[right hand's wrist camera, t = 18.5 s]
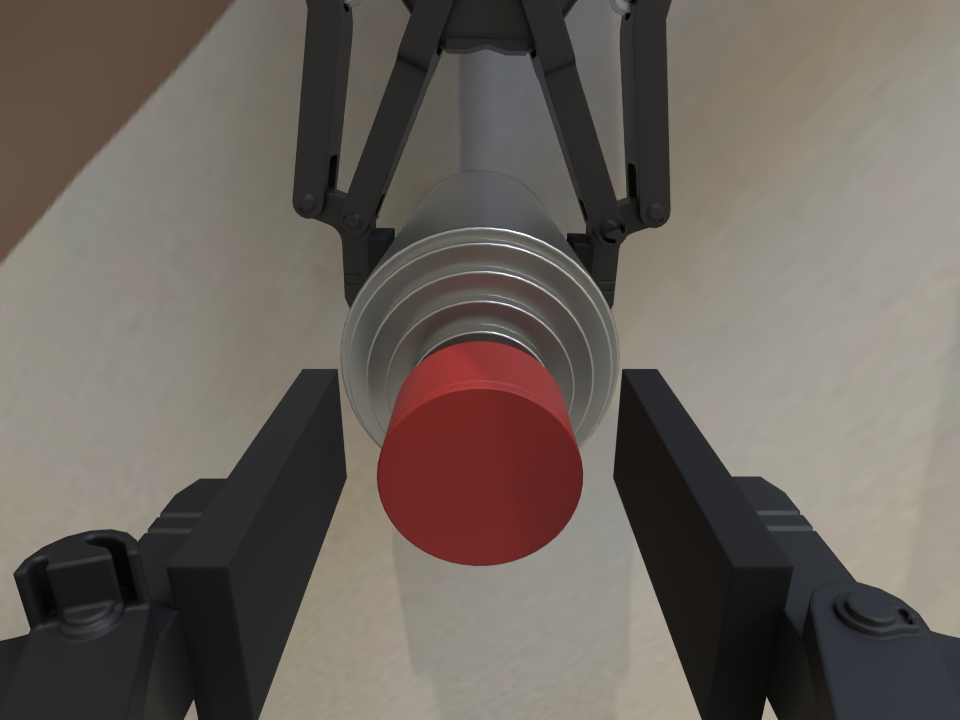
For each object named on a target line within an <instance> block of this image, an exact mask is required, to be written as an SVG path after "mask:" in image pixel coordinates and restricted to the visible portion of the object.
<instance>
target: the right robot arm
mask: <svg viewBox="0 0 960 720" xmlns="http://www.w3.org/2000/svg"><path fill="white" fill-rule="evenodd" d="M346 478H347V474H346V462H345V451H344V439H343V427H342V415H341V404H340V392H339V380H338V369H303V370H302V371H301V373H300V374H299V375H298V377H297V378H296V380H295V381H294V383H293V384H292V386H291V387H290V388H289V390H288V391H287V393H286V394H285V396H284V397H283V399H282V400H281V401H280V403H279V404H278V406H277V407H276V409H275V410H274V412H273V413H272V414H271V416H270V417H269V419H268V420H267V422H266V423H265V424H264V426H263V427H262V429H261V430H260V432H259V433H258V435H257V436H256V437H255V439H254V440H253V442H252V443H251V445H250V446H249V448H248V449H247V450H246V452H245V453H244V455H243V456H242V458H241V459H240V461H239V462H238V463H237V465H236V466H235V468H234V469H233V471H232V472H231V474H230V475H229V476H228V478H227V479H199V480H197V481H196V482H194V483H193V484H191V485H190V486H188V487H187V488H185V489H184V490H182V491H181V492H179V493H177V494H176V495H175V496H174V497H173V499H172V500H171V501H170V502H169V504H168V505H167V506H166V507H165V509H164V510H163V511H162V512H161V514H160V517H157V519H156V520H155V521H154V522H153V524H152V525H151V526H150V527H149V529H148V533H145V534H144V535H143V536H142V537H141V539H140V540H139V541H138V542H137V540H136V539H135V538H133V537H132V536H131V535H130V534H128V533H127V532H122V531H116V530H111V529H109V530H94V531H87V532H83V533H79V534H75V535H71V536H68V537H65V538H63V539H60V540H58V541H56V542H54V543H51V544H49V545H47V546H45V547H43V548H41V549H40V550H38V551H37V552H36V553H34V554H33V555H31V556H30V557H28V558H27V559H25V560H24V562H23V563H22V564H21V565H20V566H19V568H18V569H17V570H16V571H15V572H14V574H13V575H14V578H15V581H16V584H17V588H18V591H19V594H20V597H21V600H22V603H23V607H24V610H25V613H26V616H27V619H28V622H29V625H30V629H31V630H30V632H29V634H27V635H24V636H20V637H16V638H12V639H7V640H3V641H0V720H184V718H185V716H186V714H187V712H188V710H189V708H190V705H191V703H192V701H193V699H194V701H195V705H196V710H197V715H198V720H258V719H259V716H260V714H261V711H262V708H263V705H264V703H265V700H266V697H267V694H268V692H269V689H270V686H271V683H272V681H273V678H274V675H275V673H276V670H277V667H278V664H279V662H280V659H281V656H282V653H283V651H284V648H285V645H286V642H287V640H288V637H289V634H290V632H291V629H292V626H293V623H294V621H295V618H296V615H297V612H298V610H299V607H300V604H301V601H302V599H303V596H304V593H305V591H306V588H307V585H308V582H309V580H310V577H311V574H312V571H313V569H314V566H315V563H316V560H317V558H318V555H319V552H320V550H321V547H322V544H323V541H324V539H325V536H326V533H327V530H328V528H329V525H330V522H331V519H332V517H333V514H334V511H335V509H336V506H337V503H338V500H339V498H340V495H341V492H342V489H343V487H344V484H345V481H346ZM613 478H614V481H615V484H616V487H617V489H618V492H619V495H620V498H621V500H622V503H623V506H624V509H625V511H626V514H627V517H628V519H629V522H630V525H631V528H632V530H633V533H634V536H635V539H636V541H637V544H638V547H639V550H640V552H641V555H642V558H643V560H644V563H645V566H646V569H647V571H648V574H649V577H650V580H651V582H652V585H653V588H654V591H655V593H656V596H657V599H658V601H659V604H660V607H661V610H662V612H663V615H664V618H665V621H666V623H667V626H668V629H669V632H670V634H671V637H672V640H673V642H674V645H675V648H676V651H677V653H678V656H679V659H680V662H681V664H682V667H683V670H684V673H685V675H686V678H687V681H688V683H689V686H690V689H691V692H692V694H693V697H694V700H695V703H696V705H697V708H698V711H699V714H700V716H701V719H702V720H762V715H763V710H764V705H765V701H766V696H767V698H768V700H769V702H770V704H771V706H772V708H773V710H774V712H775V714H776V716H777V718H778V720H960V638H956V637H952V636H947V635H943V634H939V633H936V632H933V631H930V629H929V627H928V626H927V624H926V623H925V622H924V620H923V619H922V617H921V616H920V615H919V613H917V612H916V611H915V610H914V609H912V608H911V607H910V606H909V605H907V604H906V603H905V602H904V601H902V600H901V599H899V598H897V597H895V596H893V595H891V594H889V593H887V592H885V591H883V590H881V589H879V588H876V587H872V586H869V585H866V584H862V583H859V582H856V580H855V579H854V578H853V577H852V575H851V574H850V573H849V572H848V570H847V569H846V568H845V567H844V566H843V564H842V563H841V562H840V561H839V559H838V558H837V557H836V556H835V554H834V553H833V552H832V551H831V549H830V548H829V547H828V546H827V544H826V543H825V542H824V541H823V539H822V538H821V537H820V536H819V534H818V533H817V532H816V531H813V527H812V526H811V524H810V523H809V522H808V521H807V520H806V518H805V517H804V516H803V515H800V511H799V510H798V508H797V507H796V506H795V505H794V503H793V502H792V501H791V500H790V498H789V497H788V496H787V495H786V493H785V492H783V491H782V490H780V489H779V488H777V487H775V486H774V485H772V484H771V483H769V482H768V481H766V480H765V479H763V478H762V477H732V476H731V475H730V474H729V472H728V471H727V469H726V468H725V466H724V465H723V463H722V462H721V461H720V459H719V458H718V456H717V455H716V453H715V452H714V450H713V449H712V448H711V446H710V445H709V443H708V442H707V440H706V439H705V437H704V436H703V435H702V433H701V432H700V430H699V429H698V427H697V426H696V424H695V423H694V422H693V420H692V419H691V417H690V416H689V414H688V413H687V412H686V410H685V409H684V407H683V406H682V404H681V403H680V401H679V400H678V399H677V397H676V396H675V394H674V393H673V391H672V390H671V388H670V387H669V386H668V384H667V383H666V381H665V380H664V378H663V377H662V375H661V374H660V373H659V371H658V370H657V369H622V380H621V392H620V404H619V415H618V427H617V439H616V451H615V462H614V474H613Z"/></svg>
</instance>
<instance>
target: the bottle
mask: <svg viewBox="0 0 960 720" xmlns="http://www.w3.org/2000/svg"><path fill="white" fill-rule="evenodd" d="M472 341H473V342H475V341H477V342H480V341H485V342H494V343H500V344H504V345H508V346H511V347H513V348H516V349H519V350H521V351H522V352H524V353H526V354H528V355H530V356H531V357H533V358H534V359H535V360H537V361H538V362H539V363H540V364H541V365H543V366H544V367H545V368H546V369H547V370H548V372H549V373H550V374H551V375H552V377H553V378H554V380H555V381H556V383H557V384H558V386H559V388H560V391H561V393H562V395H563V398H564V402H565V405H566V408H567V412H568V415H569V419H570V422H571V426H572V429H573V432H574V436H575V439H576V443H577V446H578V449H579V448H580V447H581V446H582V445H583V444H584V443H585V442H586V440H587V439H588V438H589V437H590V436H591V435H592V434H593V432H594V431H595V429H596V428H597V426H598V425H599V423H600V422H601V421H602V419H603V417H604V415H605V413H606V411H607V409H608V407H609V405H610V402H611V400H612V397H613V394H614V391H615V388H616V383H617V378H618V373H619V358H620V354H619V341H618V335H617V330H616V326H615V321H614V319H613V316H612V313H611V311H610V308H609V306H608V304H607V302H606V300H605V298H604V296H603V294H602V293H601V291H600V289H599V288H598V286H597V285H596V283H595V282H594V280H593V279H592V277H591V276H590V274H589V273H588V271H587V270H586V268H585V267H584V266H583V264H582V263H581V261H580V260H579V258H578V257H577V255H576V254H575V252H574V251H573V249H572V248H571V246H570V245H569V243H568V242H567V241H566V239H565V238H564V236H563V235H562V233H561V232H560V230H559V229H558V227H557V226H556V224H555V223H554V221H553V220H552V218H551V217H550V216H549V214H548V213H547V211H546V210H545V208H544V207H543V205H542V204H541V202H540V201H539V200H538V198H537V197H536V196H535V195H534V194H533V193H532V192H531V191H530V190H529V189H528V188H527V187H525V186H524V185H523V184H522V183H520V182H518V181H517V180H515V179H513V178H511V177H509V176H506V175H504V174H500V173H496V172H491V171H470V172H464V173H460V174H457V175H454V176H452V177H449V178H447V179H445V180H443V181H442V182H440V183H439V184H437V185H436V186H435V187H433V188H432V189H431V190H430V191H429V192H428V193H427V194H426V195H425V196H424V197H423V198H422V200H421V201H420V203H419V204H418V206H417V207H416V209H415V210H414V211H413V213H412V214H411V216H410V217H409V219H408V220H407V222H406V223H405V225H404V226H403V228H402V229H401V231H400V232H399V234H398V235H397V237H396V238H395V239H394V241H393V242H392V244H391V245H390V247H389V248H388V250H387V251H386V253H385V254H384V256H383V257H382V259H381V260H380V262H379V263H378V265H377V266H376V267H375V269H374V270H373V272H372V273H371V275H370V276H369V278H368V279H367V281H366V282H365V284H364V285H363V287H362V288H361V290H360V291H359V293H358V294H357V296H356V298H355V300H354V302H353V304H352V306H351V308H350V311H349V314H348V317H347V320H346V323H345V326H344V331H343V336H342V341H341V370H342V378H343V382H344V386H345V390H346V394H347V397H348V399H349V402H350V404H351V407H352V409H353V411H354V413H355V415H356V416H357V418H358V420H359V422H360V424H361V425H362V426H363V428H364V429H365V430H366V432H367V433H368V435H369V436H370V437H371V438H372V439H373V440H374V441H375V443H376V444H377V445H378V446H379V447H380V448H381V449H382V446H383V443H384V439H385V436H386V432H387V429H388V426H389V422H390V419H391V415H392V412H393V408H394V405H395V402H396V398H397V396H398V393H399V391H400V388H401V387H402V385H403V383H404V381H405V380H406V378H407V377H408V376H409V374H410V373H411V372H412V371H413V370H414V368H415V367H416V366H417V365H418V364H419V363H421V362H422V361H423V360H425V359H426V358H427V357H429V356H430V355H432V354H434V353H436V352H437V351H439V350H442V349H444V348H447V347H449V346H453V345H456V344H460V343H466V342H472Z"/></svg>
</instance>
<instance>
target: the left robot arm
mask: <svg viewBox="0 0 960 720" xmlns="http://www.w3.org/2000/svg"><path fill="white" fill-rule="evenodd" d="M362 1H363V0H306V2H307V7H308V14H307V27H306V39H305V52H304V64H303V77H302V89H301V102H300V114H299V127H298V139H297V152H296V164H295V177H294V189H293V207H294V209H295V211H296V212H297V213H298V214H299V215H300V216H301V217H304V218H306V219H308V218H314V219H316V220H319V221H321V222H324V223H326V224H329V225H331V226H333V227H334V228H335V229H336V230H337V231H338V232H339V234H340V236H341V238H342V247H343V267H344V283H345V285H344V288H345V299H346V301H347V303H348V305H349V307H350V308H351V306H352V304H353V302H354V300H355V298H356V296H357V294H358V293H359V291H360V290H361V288H362V287H363V285H364V284H365V282H366V281H367V279H368V278H369V276H370V275H371V273H372V272H373V270H374V269H375V267H376V266H377V265H378V263H379V262H380V260H381V259H382V257H383V256H384V254H385V253H386V251H387V250H388V248H389V247H390V245H391V244H392V242H393V241H394V239H395V228H377V229H376V220H377V219H378V217H379V215H378V214H379V212H380V209H381V206H382V204H383V201H384V199H385V196H386V193H387V191H388V188H389V186H390V183H391V181H392V178H393V175H394V173H395V170H396V168H397V165H398V163H399V160H400V157H401V155H402V152H403V150H404V147H405V145H406V142H407V139H408V137H409V134H410V132H411V129H412V126H413V124H414V121H415V119H416V116H417V114H418V111H419V108H420V106H421V103H422V101H423V98H424V96H425V93H426V90H427V88H428V85H429V83H430V80H431V78H432V76H433V74H434V72H435V70H436V67H437V65H438V62H439V60H440V57H441V55H442V52H443V50H444V51H446V52H447V53H451V54H468V53H472V52H476V51H479V50H483V49H489V50H492V51H495V52H498V53H501V54H504V55H517V56H525V55H526V54H527V53H529V55H530V58H531V61H532V64H533V67H534V70H535V73H536V76H537V78H538V80H539V82H540V85H541V88H542V91H543V94H544V97H545V100H546V103H547V107H548V110H549V113H550V116H551V119H552V122H553V125H554V128H555V131H556V134H557V137H558V140H559V143H560V147H561V150H562V153H563V156H564V159H565V162H566V165H567V168H568V171H569V174H570V177H571V180H572V183H573V187H574V190H575V193H576V196H577V199H578V202H579V205H580V208H581V211H582V214H583V217H584V220H585V224H586V235H585V234H578V233H567V242H568V243H569V245H570V246H571V248H572V249H573V251H574V252H575V254H576V255H577V257H578V258H579V260H580V261H581V263H582V264H583V266H584V267H585V268H586V270H587V271H588V273H589V274H590V276H591V277H592V279H593V280H594V282H595V283H596V285H597V286H598V288H599V289H600V291H601V293H602V294H603V296H604V298H605V300H606V302H607V304H608V306H609V308H610V309H611V307H612V306H613V301H614V290H615V281H616V273H617V263H618V253H619V247H620V244H621V243H622V242H623V241H624V240H625V238H626V237H627V236H628V235H629V234H631V233H634V232H637V231H640V230H643V229H646V228H649V227H650V228H657V227H660V226H662V225H663V224H665V223H666V222H667V220H668V218H669V216H670V172H669V130H668V87H667V45H666V18H667V14H668V11H669V7H670V4H671V1H672V0H609V3H610V6H611V8H612V10H613V11H614V12H616V13H617V14H620V15H622V19H621V28H620V59H621V81H622V102H623V123H624V145H625V166H626V187H627V198H624V199H621V200H618V201H617V200H616V197H615V194H614V190H613V187H612V184H611V180H610V177H609V174H608V171H607V167H606V164H605V161H604V157H603V154H602V151H601V148H600V144H599V141H598V138H597V134H596V131H595V128H594V124H593V121H592V118H591V115H590V111H589V108H588V105H587V101H586V98H585V95H584V92H583V88H582V85H581V82H580V78H579V75H578V72H577V68H576V63H575V56H574V52H573V48H572V45H571V41H570V38H569V35H568V32H567V28H566V25H565V22H564V18H565V17H566V15H567V14H568V13H569V11H570V10H571V8H572V7H573V6H574V4H575V3H576V2H577V0H402V2H403V3H404V5H405V6H406V8H407V9H408V11H409V12H410V14H411V17H410V19H409V22H408V25H407V27H406V30H405V33H404V36H403V38H402V41H401V44H400V47H399V50H398V54H397V60H396V63H395V66H394V69H393V71H392V74H391V77H390V79H389V82H388V85H387V88H386V90H385V93H384V96H383V99H382V101H381V104H380V107H379V109H378V112H377V115H376V118H375V120H374V123H373V126H372V129H371V131H370V134H369V137H368V139H367V142H366V145H365V148H364V150H363V153H362V156H361V158H360V161H359V164H358V167H357V169H356V172H355V175H354V178H353V180H352V183H351V186H350V188H349V191H348V194H347V193H344V192H342V191H339V190H337V180H338V170H339V160H340V151H341V141H342V131H343V122H344V112H345V102H346V93H347V83H348V73H349V63H350V54H351V44H352V31H353V19H352V8H351V7H353V6H356V5H359V4H360V3H361V2H362Z"/></svg>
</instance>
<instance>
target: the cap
mask: <svg viewBox="0 0 960 720" xmlns="http://www.w3.org/2000/svg"><path fill="white" fill-rule="evenodd" d="M377 483H378V491H379V495H380V499H381V502H382V504H383V507H384V509H385V512H386V513H387V515H388V517H389V518H390V520H391V522H392V523H393V524H394V526H395V527H396V528H397V530H398V531H399V532H400V533H401V534H402V535H403V536H404V537H405V538H406V539H407V540H408V541H410V542H411V543H412V544H414V545H415V546H416V547H418V548H419V549H421V550H423V551H424V552H426V553H428V554H430V555H432V556H435V557H437V558H439V559H442V560H445V561H449V562H452V563H457V564H462V565H472V566H489V565H497V564H503V563H507V562H512V561H515V560H518V559H521V558H523V557H526V556H528V555H530V554H532V553H534V552H536V551H538V550H539V549H541V548H542V547H544V546H545V545H547V544H548V543H549V542H550V541H552V540H553V539H554V538H555V537H556V536H557V535H558V534H559V533H560V532H561V531H562V530H563V529H564V527H565V526H566V525H567V523H568V522H569V520H570V519H571V517H572V515H573V513H574V511H575V509H576V507H577V505H578V502H579V499H580V496H581V491H582V486H583V468H582V461H581V457H580V453H579V449H578V446H577V443H576V439H575V436H574V432H573V429H572V426H571V422H570V419H569V415H568V412H567V408H566V405H565V402H564V398H563V395H562V393H561V391H560V388H559V386H558V384H557V383H556V381H555V380H554V378H553V377H552V375H551V374H550V373H549V372H548V370H547V369H546V368H545V367H544V366H543V365H541V364H540V363H539V362H538V361H537V360H535V359H534V358H533V357H531V356H530V355H528V354H526V353H524V352H522V351H521V350H519V349H516V348H513V347H511V346H508V345H504V344H500V343H494V342H485V341H480V342H477V341H475V342H473V341H472V342H466V343H460V344H456V345H453V346H449V347H447V348H444V349H442V350H439V351H437V352H436V353H434V354H432V355H430V356H429V357H427V358H426V359H425V360H423V361H422V362H421V363H419V364H418V365H417V366H416V367H415V368H414V370H413V371H412V372H411V373H410V374H409V376H408V377H407V378H406V380H405V381H404V383H403V385H402V387H401V388H400V391H399V393H398V396H397V398H396V402H395V405H394V408H393V412H392V415H391V419H390V422H389V426H388V429H387V432H386V436H385V439H384V443H383V446H382V449H381V453H380V457H379V462H378V469H377Z"/></svg>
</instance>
